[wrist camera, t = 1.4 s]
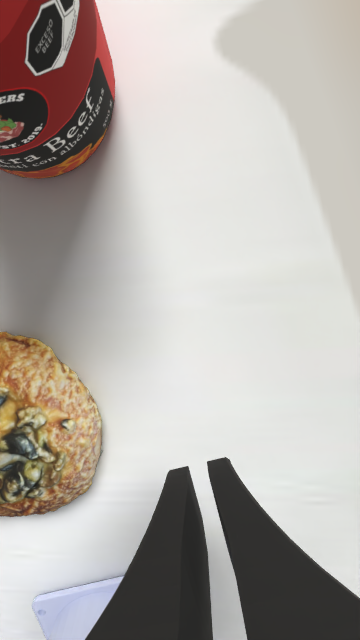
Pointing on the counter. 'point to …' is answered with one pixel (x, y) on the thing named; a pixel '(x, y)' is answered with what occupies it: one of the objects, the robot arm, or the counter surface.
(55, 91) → the canned food
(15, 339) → the mushroom cheese tart
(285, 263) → the counter surface
